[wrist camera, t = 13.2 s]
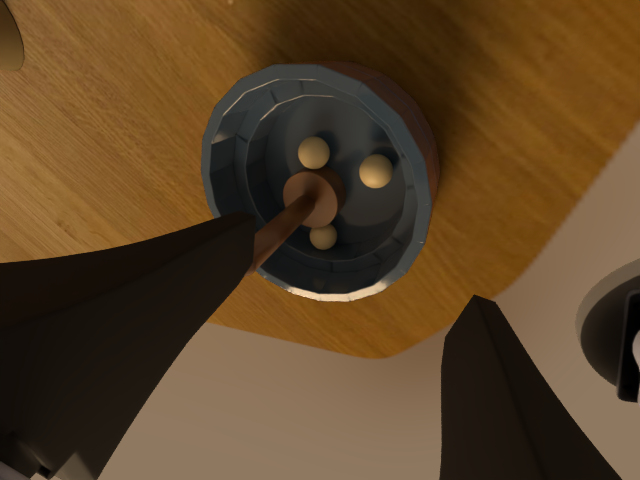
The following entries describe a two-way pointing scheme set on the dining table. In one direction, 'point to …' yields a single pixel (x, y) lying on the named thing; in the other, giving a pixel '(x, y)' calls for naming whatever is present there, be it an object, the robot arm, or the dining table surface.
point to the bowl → (345, 159)
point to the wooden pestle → (301, 209)
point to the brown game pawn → (9, 42)
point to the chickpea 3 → (376, 171)
